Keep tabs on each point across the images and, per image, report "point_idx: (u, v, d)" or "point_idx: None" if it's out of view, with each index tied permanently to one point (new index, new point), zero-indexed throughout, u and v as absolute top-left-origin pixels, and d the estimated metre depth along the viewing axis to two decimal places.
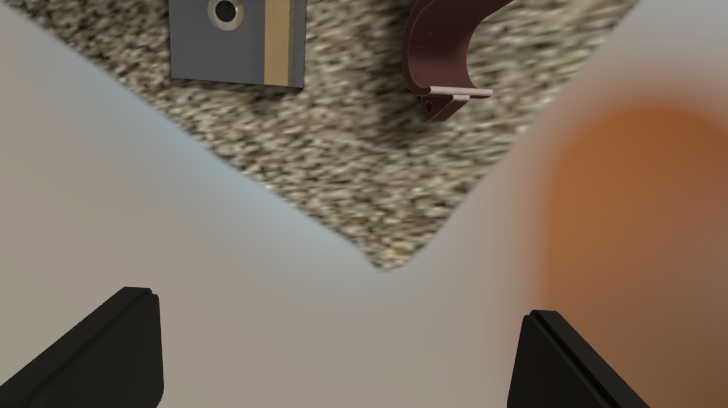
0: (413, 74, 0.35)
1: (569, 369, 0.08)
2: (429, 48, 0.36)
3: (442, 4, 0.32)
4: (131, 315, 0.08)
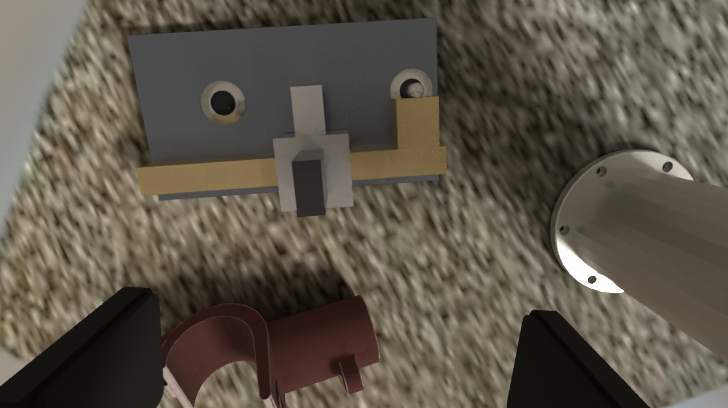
0: (192, 329, 0.31)
1: (569, 369, 0.08)
2: (230, 332, 0.33)
3: None
4: (131, 315, 0.08)
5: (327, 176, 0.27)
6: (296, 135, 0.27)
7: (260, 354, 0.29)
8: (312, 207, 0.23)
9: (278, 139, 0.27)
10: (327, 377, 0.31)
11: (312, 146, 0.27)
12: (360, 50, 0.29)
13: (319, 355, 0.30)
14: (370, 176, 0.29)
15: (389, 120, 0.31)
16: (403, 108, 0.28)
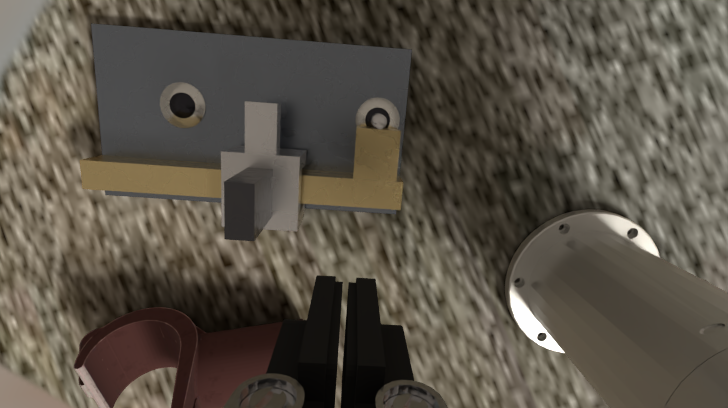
0: (122, 329, 0.30)
1: None
2: (163, 337, 0.32)
3: None
4: (340, 299, 0.10)
5: (273, 197, 0.26)
6: (245, 151, 0.26)
7: (183, 368, 0.28)
8: (241, 231, 0.22)
9: (226, 152, 0.26)
10: None
11: (260, 165, 0.26)
12: (329, 71, 0.29)
13: (246, 378, 0.29)
14: (321, 202, 0.28)
15: (351, 146, 0.30)
16: (362, 138, 0.27)
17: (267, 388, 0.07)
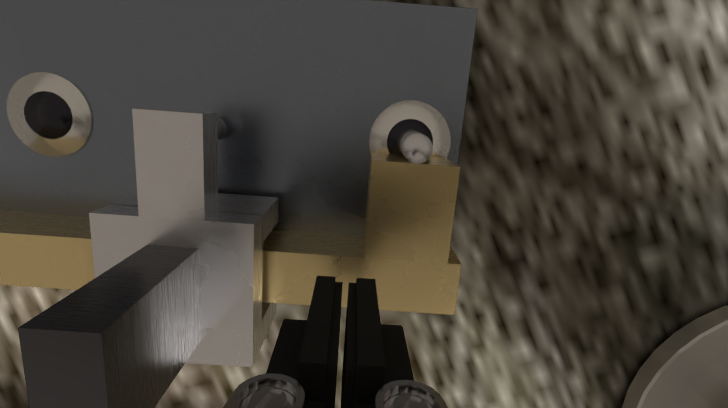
0: None
1: None
2: None
3: None
4: (340, 299, 0.10)
5: (202, 303, 0.13)
6: (140, 213, 0.12)
7: None
8: None
9: (101, 216, 0.12)
10: None
11: (173, 240, 0.12)
12: (321, 51, 0.15)
13: None
14: (303, 300, 0.15)
15: (362, 190, 0.16)
16: (384, 181, 0.14)
17: (267, 388, 0.07)
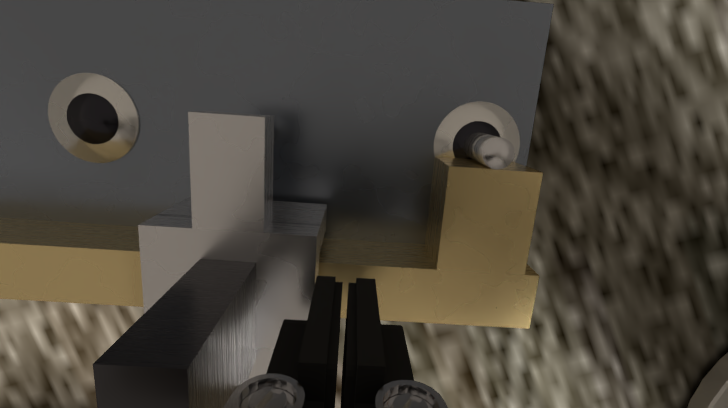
0: None
1: None
2: None
3: None
4: (340, 299, 0.10)
5: (258, 321, 0.12)
6: (194, 224, 0.11)
7: None
8: None
9: (151, 228, 0.11)
10: None
11: (229, 254, 0.12)
12: (385, 49, 0.14)
13: None
14: None
15: (424, 196, 0.15)
16: (461, 188, 0.13)
17: (267, 388, 0.07)
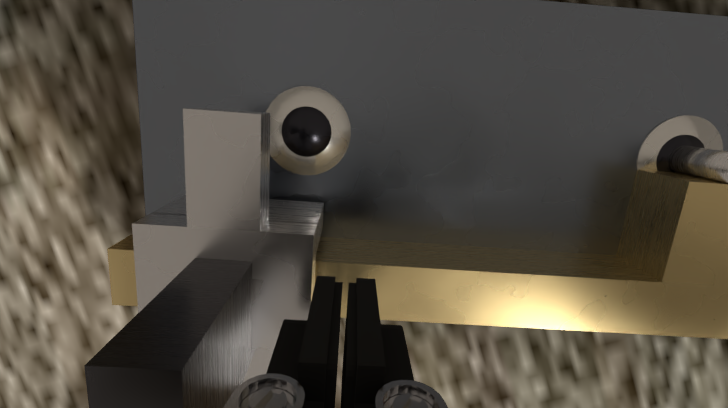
0: None
1: None
2: None
3: None
4: (340, 299, 0.10)
5: (254, 320, 0.12)
6: (189, 223, 0.11)
7: None
8: None
9: (145, 226, 0.11)
10: None
11: (225, 253, 0.11)
12: (602, 64, 0.14)
13: None
14: (590, 326, 0.14)
15: (621, 208, 0.16)
16: (698, 203, 0.13)
17: (267, 388, 0.07)
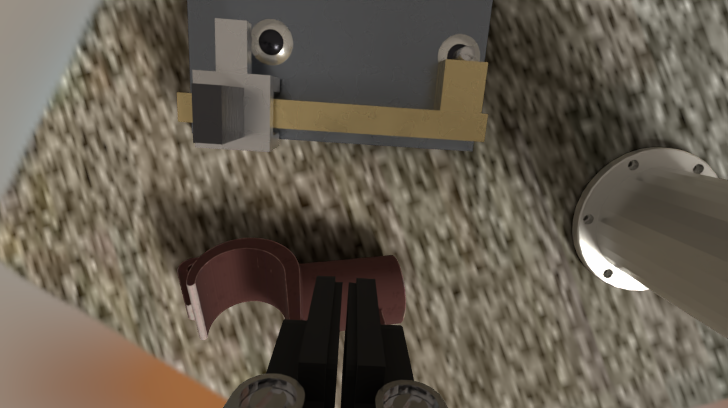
0: (223, 255, 0.31)
1: None
2: (257, 268, 0.33)
3: None
4: (340, 299, 0.10)
5: (245, 117, 0.27)
6: (216, 69, 0.26)
7: (292, 289, 0.28)
8: (209, 134, 0.22)
9: (198, 71, 0.26)
10: None
11: (232, 83, 0.26)
12: (414, 8, 0.29)
13: None
14: (408, 134, 0.29)
15: (432, 83, 0.31)
16: (451, 69, 0.28)
17: (267, 388, 0.07)
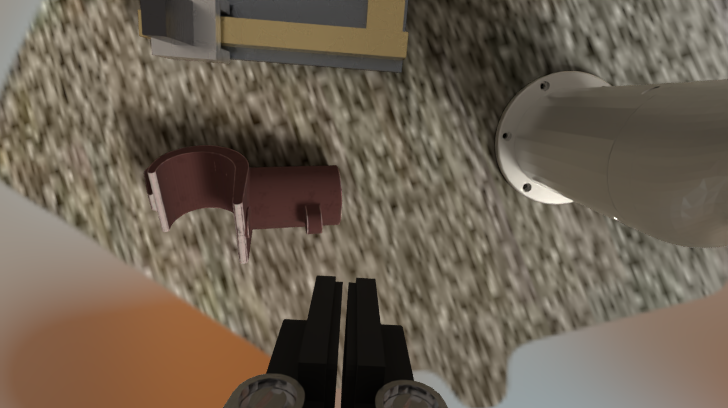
0: (183, 156, 0.35)
1: None
2: (215, 172, 0.37)
3: None
4: (340, 299, 0.10)
5: (194, 28, 0.31)
6: None
7: (239, 179, 0.33)
8: (155, 27, 0.27)
9: None
10: (292, 221, 0.35)
11: None
12: None
13: (289, 196, 0.34)
14: (339, 49, 0.34)
15: (364, 9, 0.35)
16: None
17: (267, 388, 0.07)
